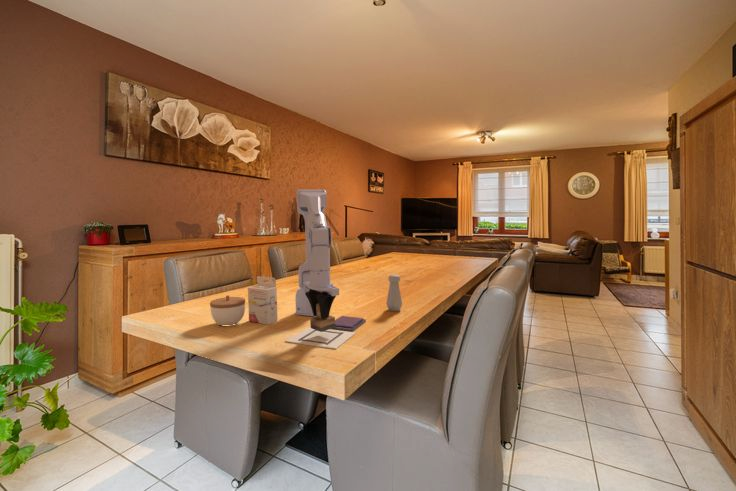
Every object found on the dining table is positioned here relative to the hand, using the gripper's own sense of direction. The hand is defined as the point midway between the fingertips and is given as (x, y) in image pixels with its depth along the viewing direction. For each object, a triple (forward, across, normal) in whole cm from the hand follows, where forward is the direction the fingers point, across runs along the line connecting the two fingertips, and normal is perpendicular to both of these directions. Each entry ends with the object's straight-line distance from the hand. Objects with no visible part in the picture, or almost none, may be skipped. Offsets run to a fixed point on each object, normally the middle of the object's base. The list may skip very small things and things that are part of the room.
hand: (321, 316), depth 101 cm
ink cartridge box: (+6, +27, +4) cm, 28 cm away
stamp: (+3, 0, -1) cm, 3 cm away
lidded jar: (+6, +32, +14) cm, 36 cm away
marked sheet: (+6, 0, 0) cm, 6 cm away
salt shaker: (+6, +4, -36) cm, 37 cm away
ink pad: (+6, +4, -13) cm, 15 cm away
